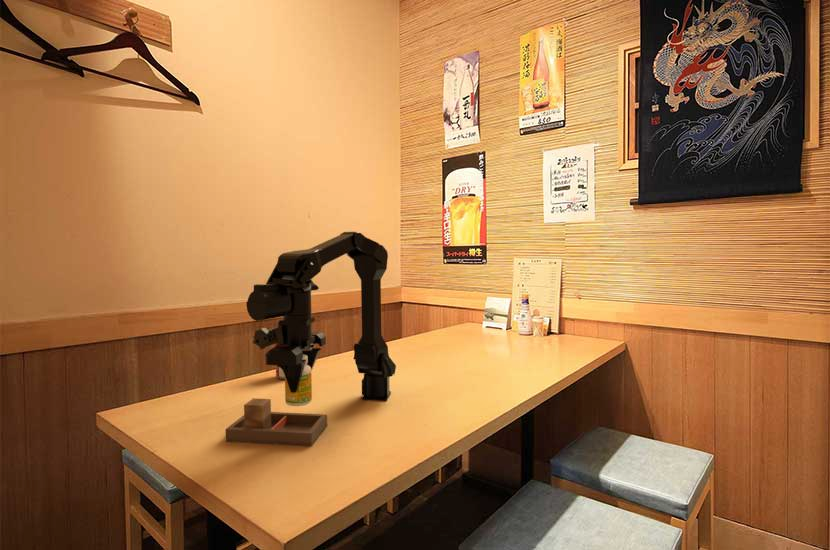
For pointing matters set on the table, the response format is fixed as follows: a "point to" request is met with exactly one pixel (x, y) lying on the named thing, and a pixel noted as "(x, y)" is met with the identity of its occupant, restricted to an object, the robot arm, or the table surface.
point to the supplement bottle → (300, 388)
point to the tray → (281, 430)
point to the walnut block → (257, 413)
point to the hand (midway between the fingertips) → (298, 387)
